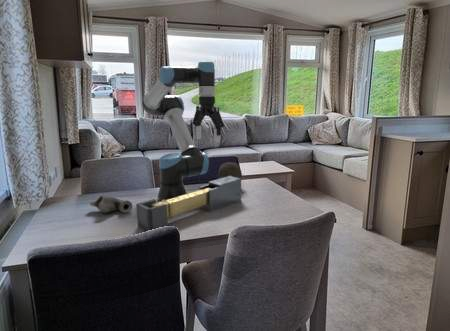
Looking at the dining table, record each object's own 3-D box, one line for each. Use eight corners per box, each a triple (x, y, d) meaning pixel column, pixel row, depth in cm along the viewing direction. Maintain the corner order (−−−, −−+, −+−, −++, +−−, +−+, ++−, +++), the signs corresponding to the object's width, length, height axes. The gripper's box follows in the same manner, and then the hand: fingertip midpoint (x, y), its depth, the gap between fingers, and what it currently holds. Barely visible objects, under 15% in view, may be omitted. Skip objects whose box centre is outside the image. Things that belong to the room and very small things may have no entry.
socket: (138, 227, 137) (136, 204, 134) (155, 221, 142) (153, 198, 140) (150, 234, 130) (148, 210, 128) (167, 228, 136) (166, 204, 133)
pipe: (114, 223, 161) (85, 214, 151) (117, 206, 165) (89, 197, 156) (132, 213, 151) (103, 203, 142) (135, 196, 156) (106, 185, 147)
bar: (150, 217, 138) (149, 203, 137) (206, 199, 160) (206, 187, 158) (158, 222, 134) (157, 207, 132) (215, 202, 156) (215, 189, 154)
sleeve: (199, 207, 159) (199, 184, 156) (230, 196, 173) (230, 175, 170) (210, 211, 153) (210, 187, 150) (241, 200, 167) (241, 178, 164)
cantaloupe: (247, 187, 188) (247, 162, 184) (230, 193, 178) (230, 167, 175) (229, 182, 198) (229, 158, 194) (212, 188, 188) (212, 162, 184)
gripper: (184, 95, 159) (186, 138, 164) (219, 96, 141) (219, 144, 146) (196, 95, 164) (197, 136, 169) (231, 96, 146) (231, 142, 151)
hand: (207, 140), depth 158 cm, fingers open, 13 cm apart
